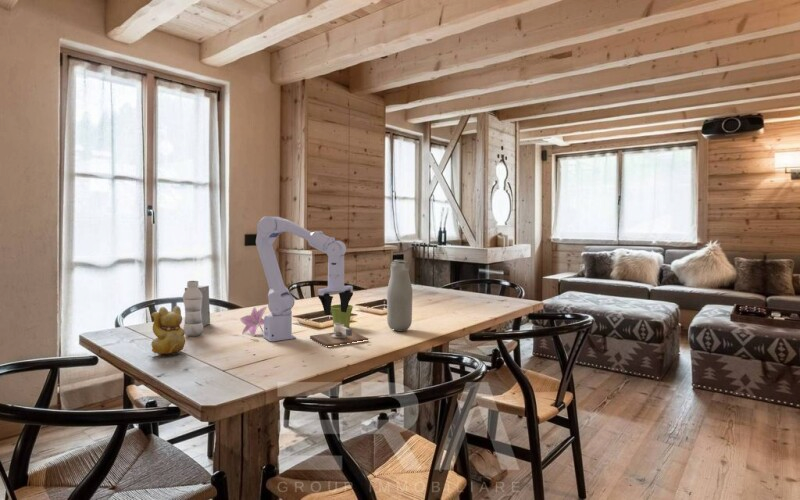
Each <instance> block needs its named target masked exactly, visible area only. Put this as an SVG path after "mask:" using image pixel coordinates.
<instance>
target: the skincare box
mask: <svg viewBox="0 0 800 500" xmlns="http://www.w3.org/2000/svg"><path fill="white" fill-rule="evenodd" d="M187 288H188V287H187V286H186V287H184V292H185V291H186V290H187ZM198 289H199V290H200V291H201V293H202V295H203V296H202V305H201V317H202V324H203V328H205V326H207V325H210V323H211V315H210V314H211V313H210V311H211V310H210V309H211V308H210V307H211V306H210V286H209V285H199V286H198Z"/></svg>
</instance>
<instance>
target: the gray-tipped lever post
mask: <svg viewBox="0 0 800 500" xmlns="http://www.w3.org/2000/svg"><path fill="white" fill-rule="evenodd" d="M334 332H341V333H343V334H345V335H347V336H352V332H353V329H351V328H350V327H349V328H346V327H344V324H343V323H336V324H334V325H333V333H334Z"/></svg>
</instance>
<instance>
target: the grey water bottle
mask: <svg viewBox="0 0 800 500" xmlns="http://www.w3.org/2000/svg"><path fill="white" fill-rule="evenodd" d="M409 270H410V266H409V261H407V260H404V259H393V261H391V263H390V277H389V281H388V284H387V285H388V286H387V290H386V307H387V308H386V309H387V310H386V311H387V312H386V319H387V326H388V327H389V329H390V330H392V329H394V330H393V331H395V330H405V331H407V330H409V329H410V327H411V325H412V323H413V320H412V319H413V287H412V281H411V279H410V274H409V273H410V272H409Z"/></svg>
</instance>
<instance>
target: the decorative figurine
mask: <svg viewBox="0 0 800 500" xmlns="http://www.w3.org/2000/svg"><path fill="white" fill-rule="evenodd" d="M181 310H182V309H181V307H180V306H178V305H176V306H174V307H173V308H172V311H169V310H168V309H167V308H166V307H165V306H161V307H160V308H159V310H158V311H154V312H152V313H151V315H150V316H151V317H152V318H153V324H152V331H153V332H152V333H153V334H154V335H155V337H156V338H153V339H152V341H151V344H150V345H151V347H152V349H151V352H153V353H154V354H158V357H160V358H165V357H173V356H178V355H179V354H178V353H179V352H181V351H182V350H184V347H185V345H186V337H185V336H184V335H185V334H184V333H185V332H184V330H183V329H184V328H182V327H181V324H182V321H183V316H182V311H181Z"/></svg>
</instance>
